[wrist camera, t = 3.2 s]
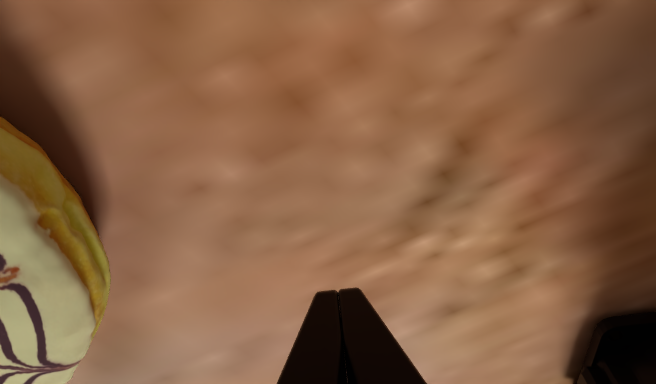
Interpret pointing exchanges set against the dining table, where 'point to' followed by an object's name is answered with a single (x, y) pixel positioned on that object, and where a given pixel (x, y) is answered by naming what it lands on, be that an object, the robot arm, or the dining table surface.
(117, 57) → the dining table surface
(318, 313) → the robot arm
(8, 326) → the decorated donut
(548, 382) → the dining table surface
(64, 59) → the dining table surface
